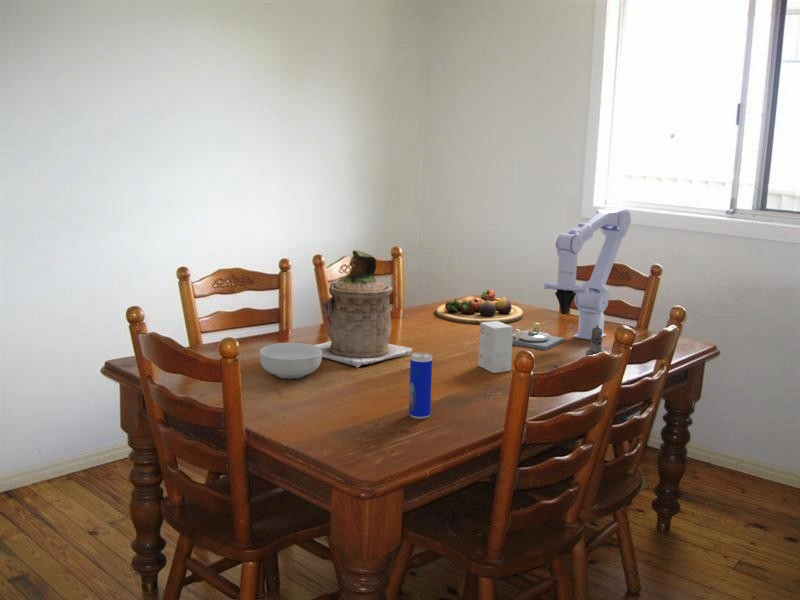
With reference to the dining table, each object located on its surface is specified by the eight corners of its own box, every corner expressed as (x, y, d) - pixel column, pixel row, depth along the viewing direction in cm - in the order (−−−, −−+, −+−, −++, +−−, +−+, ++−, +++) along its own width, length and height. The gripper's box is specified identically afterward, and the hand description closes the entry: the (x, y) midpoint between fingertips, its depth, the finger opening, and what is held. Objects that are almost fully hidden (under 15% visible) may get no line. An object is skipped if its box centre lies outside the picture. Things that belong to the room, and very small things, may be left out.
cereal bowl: (271, 387, 221) (271, 361, 220) (251, 370, 236) (251, 345, 234) (331, 379, 229) (331, 354, 228) (308, 363, 243) (308, 339, 242)
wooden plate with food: (465, 302, 334) (466, 282, 332) (538, 313, 315) (539, 292, 313) (418, 318, 309) (419, 295, 307) (495, 331, 290) (495, 307, 288)
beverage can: (407, 412, 205) (409, 352, 202) (429, 412, 205) (431, 352, 202) (409, 419, 200) (411, 357, 196) (431, 419, 200) (433, 358, 197)
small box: (511, 371, 241) (513, 326, 238) (492, 373, 238) (494, 328, 236) (496, 363, 248) (498, 320, 245) (477, 366, 245) (479, 322, 243)
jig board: (519, 333, 284) (520, 319, 283) (564, 341, 275) (565, 327, 274) (500, 342, 273) (500, 327, 272) (545, 350, 264) (546, 335, 263)
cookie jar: (415, 354, 256) (418, 249, 250) (357, 370, 239) (358, 257, 232) (358, 339, 273) (360, 240, 266) (300, 352, 255) (300, 247, 248)
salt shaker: (605, 367, 247) (608, 327, 244) (584, 366, 248) (587, 326, 245) (604, 362, 252) (607, 323, 250) (584, 360, 254) (587, 321, 251)
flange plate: (507, 332, 280) (508, 321, 279) (547, 334, 279) (548, 322, 278) (510, 341, 269) (511, 328, 268) (551, 342, 268) (552, 330, 268)
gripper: (540, 270, 268) (538, 312, 271) (583, 276, 260) (580, 319, 263) (550, 267, 274) (548, 308, 277) (592, 273, 266) (589, 315, 268)
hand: (564, 313), depth 270 cm, fingers closed
